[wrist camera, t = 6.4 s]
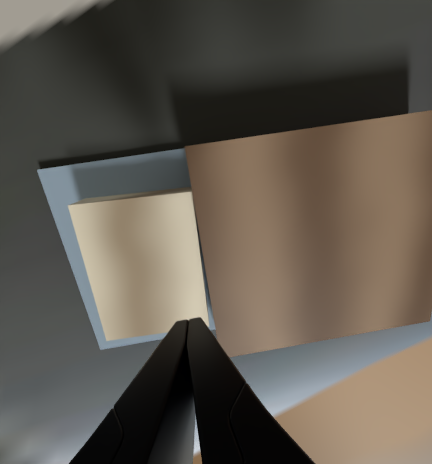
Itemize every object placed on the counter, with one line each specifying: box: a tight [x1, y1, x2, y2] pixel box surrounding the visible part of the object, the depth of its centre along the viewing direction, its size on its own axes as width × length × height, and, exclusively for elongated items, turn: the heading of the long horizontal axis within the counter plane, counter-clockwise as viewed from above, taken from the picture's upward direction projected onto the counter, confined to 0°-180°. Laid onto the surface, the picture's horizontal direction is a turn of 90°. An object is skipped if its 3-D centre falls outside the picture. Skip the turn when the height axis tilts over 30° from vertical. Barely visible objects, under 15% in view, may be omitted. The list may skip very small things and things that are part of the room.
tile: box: [68, 187, 209, 341], centre depth 14 cm, size 6×8×2 cm
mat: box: [37, 148, 216, 350], centre depth 15 cm, size 8×12×1 cm, turn 8°
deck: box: [185, 110, 432, 357], centre depth 14 cm, size 13×12×3 cm
